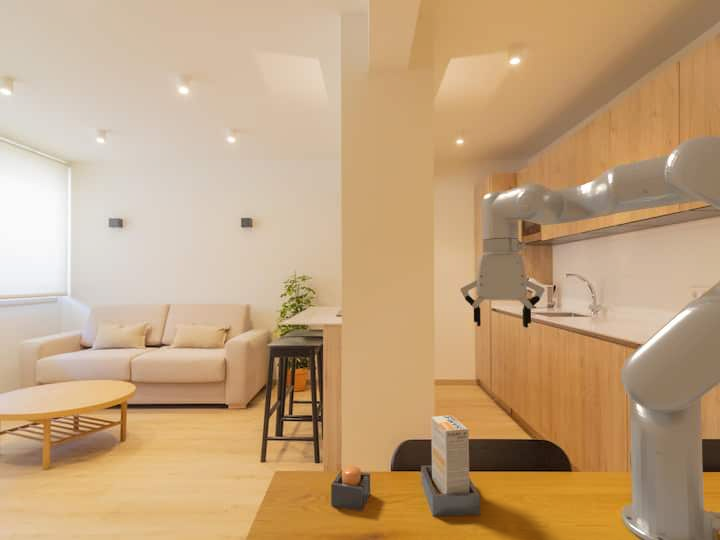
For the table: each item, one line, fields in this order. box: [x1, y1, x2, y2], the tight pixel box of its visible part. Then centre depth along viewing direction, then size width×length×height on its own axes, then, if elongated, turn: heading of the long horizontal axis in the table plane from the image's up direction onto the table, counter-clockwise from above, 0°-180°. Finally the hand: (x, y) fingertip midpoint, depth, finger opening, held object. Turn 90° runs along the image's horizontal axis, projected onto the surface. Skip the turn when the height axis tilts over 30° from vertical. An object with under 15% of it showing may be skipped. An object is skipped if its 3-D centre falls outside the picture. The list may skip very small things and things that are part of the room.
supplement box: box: [430, 415, 470, 494], centre depth 76 cm, size 8×5×13 cm, turn 9°
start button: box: [341, 465, 361, 486], centre depth 75 cm, size 4×4×4 cm
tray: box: [420, 464, 481, 517], centre depth 75 cm, size 9×12×4 cm
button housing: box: [330, 469, 371, 512], centre depth 75 cm, size 6×6×4 cm
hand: (501, 326), depth 85 cm, fingers open, 9 cm apart
